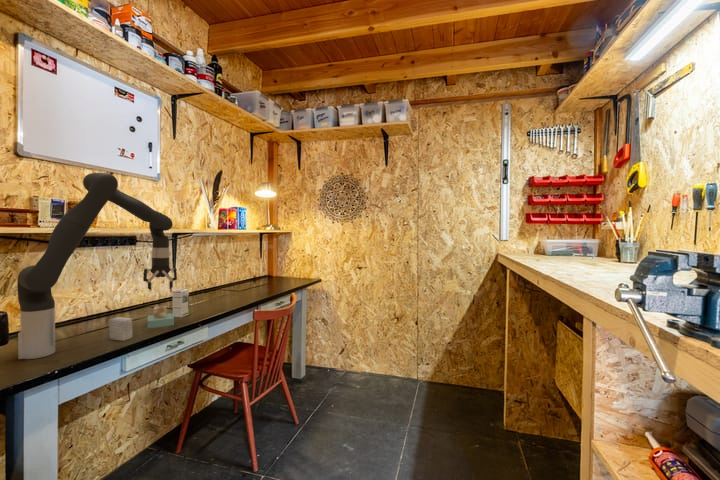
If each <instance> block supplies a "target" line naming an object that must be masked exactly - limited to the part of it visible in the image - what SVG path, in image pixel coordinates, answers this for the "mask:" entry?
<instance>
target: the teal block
mask: <svg viewBox="0 0 720 480" xmlns="http://www.w3.org/2000/svg"><path fill="white" fill-rule="evenodd" d="M171 325H172V326H175V317H174V316H173V312H172V313H166V318H159V319H154V314H151V315H147V329H153V328H154V329H155V328H163V327H169V326H171Z"/></svg>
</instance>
